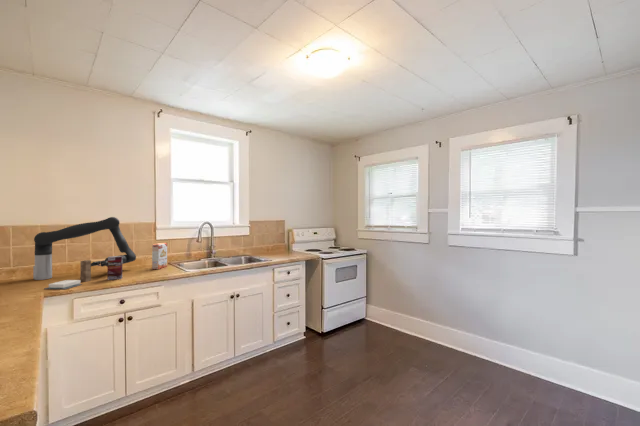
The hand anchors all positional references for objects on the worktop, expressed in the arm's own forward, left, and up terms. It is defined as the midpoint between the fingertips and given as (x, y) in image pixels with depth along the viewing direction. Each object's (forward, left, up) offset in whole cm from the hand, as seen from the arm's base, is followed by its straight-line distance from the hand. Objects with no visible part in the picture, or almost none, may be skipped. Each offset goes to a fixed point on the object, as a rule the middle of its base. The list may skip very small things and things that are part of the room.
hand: (96, 265), depth 217 cm
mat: (0, -25, -10) cm, 27 cm away
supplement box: (+15, 0, -10) cm, 18 cm away
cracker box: (+21, +43, -10) cm, 48 cm away
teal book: (0, -18, -8) cm, 20 cm away
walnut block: (0, -8, -10) cm, 13 cm away
